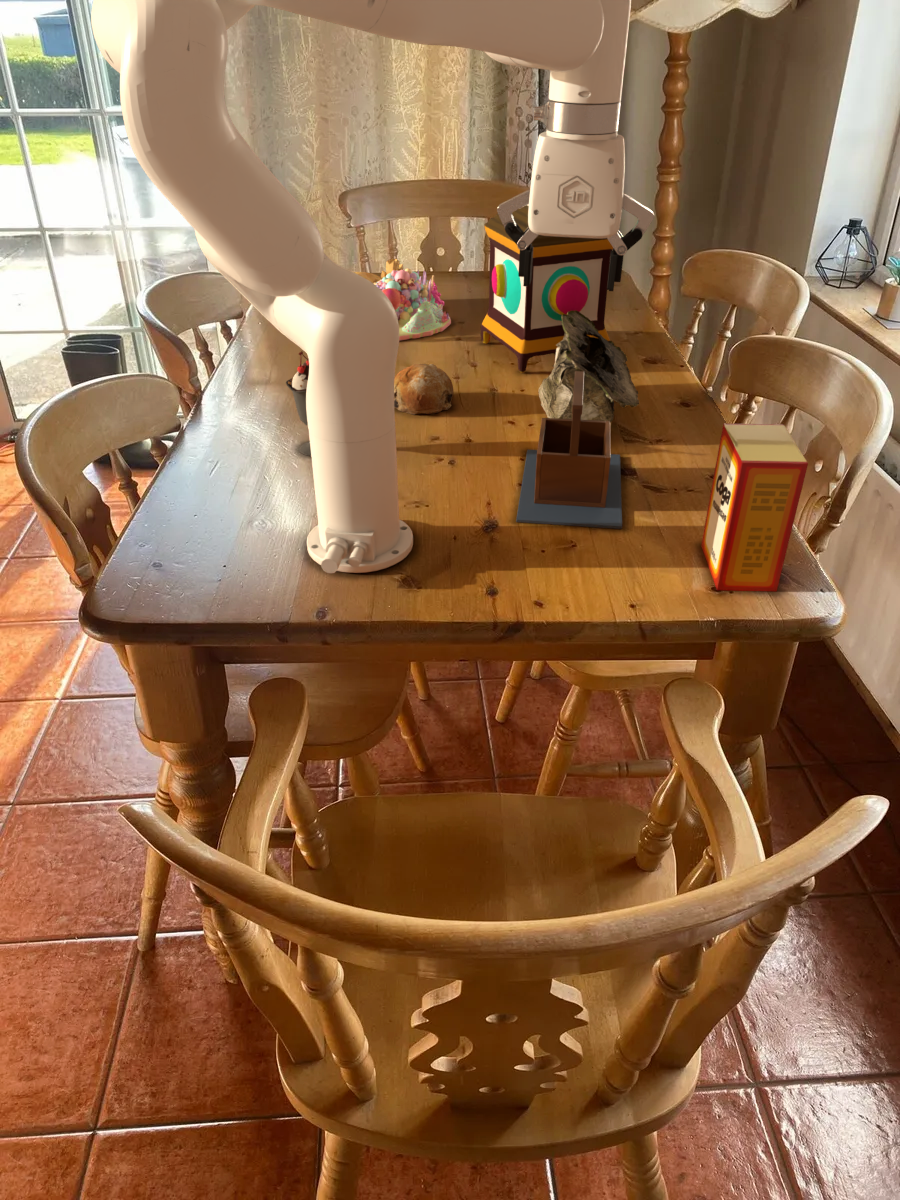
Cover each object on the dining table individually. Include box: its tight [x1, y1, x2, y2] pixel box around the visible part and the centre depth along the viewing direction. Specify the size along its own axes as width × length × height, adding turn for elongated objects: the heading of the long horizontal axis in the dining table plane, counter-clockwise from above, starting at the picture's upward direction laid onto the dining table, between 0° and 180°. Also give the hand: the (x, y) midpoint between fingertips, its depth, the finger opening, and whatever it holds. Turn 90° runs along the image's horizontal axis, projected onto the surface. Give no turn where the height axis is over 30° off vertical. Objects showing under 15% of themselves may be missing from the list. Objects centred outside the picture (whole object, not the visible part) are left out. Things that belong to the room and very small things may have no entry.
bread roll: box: [394, 363, 454, 416], centre depth 142 cm, size 10×10×8 cm
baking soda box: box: [700, 423, 809, 592], centre depth 100 cm, size 10×6×16 cm
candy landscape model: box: [353, 258, 452, 341], centre depth 175 cm, size 25×24×9 cm
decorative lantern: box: [480, 204, 613, 374], centre depth 154 cm, size 20×20×30 cm
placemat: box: [515, 449, 623, 530], centre depth 120 cm, size 20×13×1 cm, turn 172°
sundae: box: [285, 350, 311, 457], centre depth 126 cm, size 7×7×15 cm
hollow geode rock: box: [537, 310, 640, 423], centre depth 138 cm, size 28×13×15 cm
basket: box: [534, 371, 612, 508], centre depth 116 cm, size 11×9×14 cm
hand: (568, 285), depth 106 cm, fingers open, 9 cm apart
